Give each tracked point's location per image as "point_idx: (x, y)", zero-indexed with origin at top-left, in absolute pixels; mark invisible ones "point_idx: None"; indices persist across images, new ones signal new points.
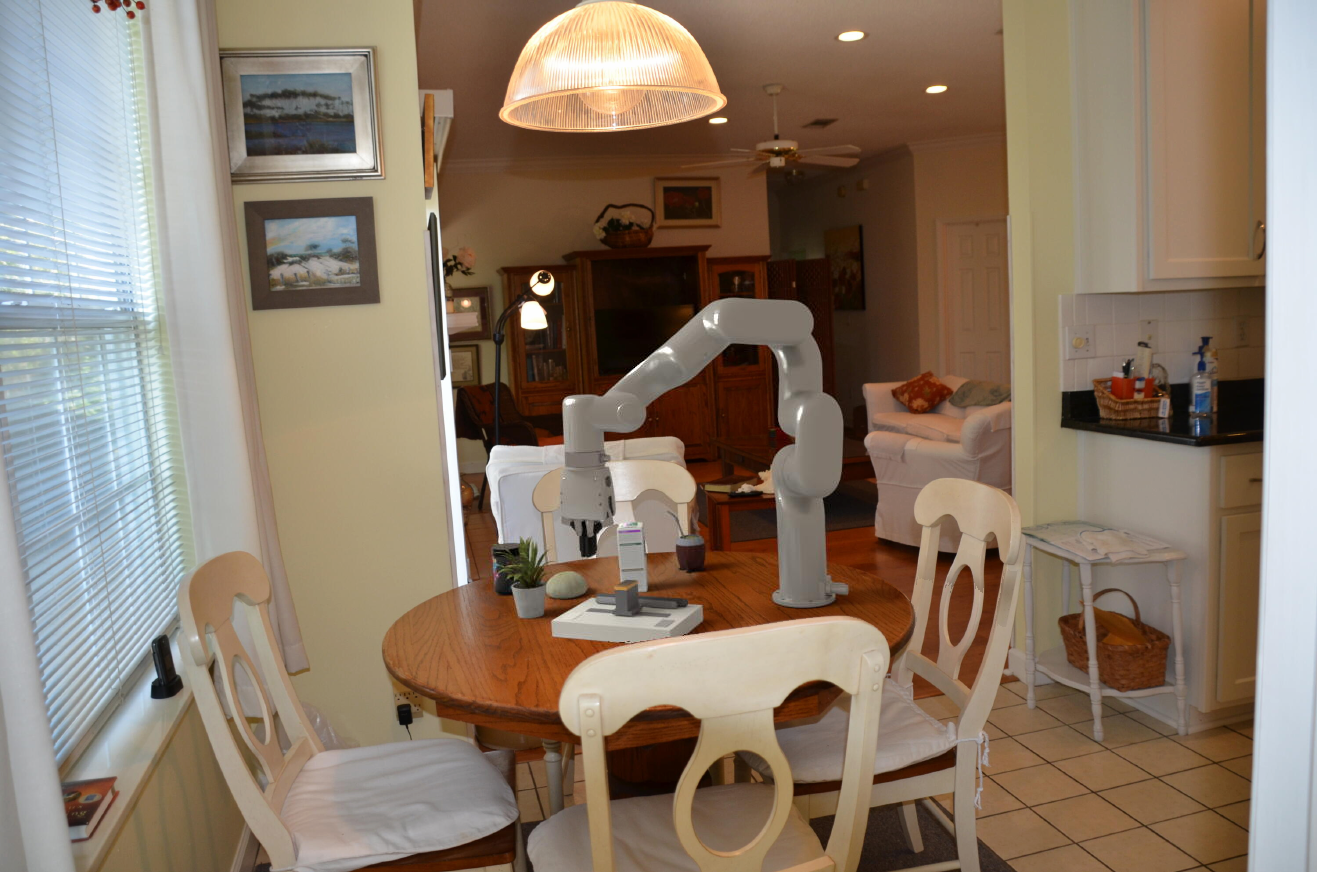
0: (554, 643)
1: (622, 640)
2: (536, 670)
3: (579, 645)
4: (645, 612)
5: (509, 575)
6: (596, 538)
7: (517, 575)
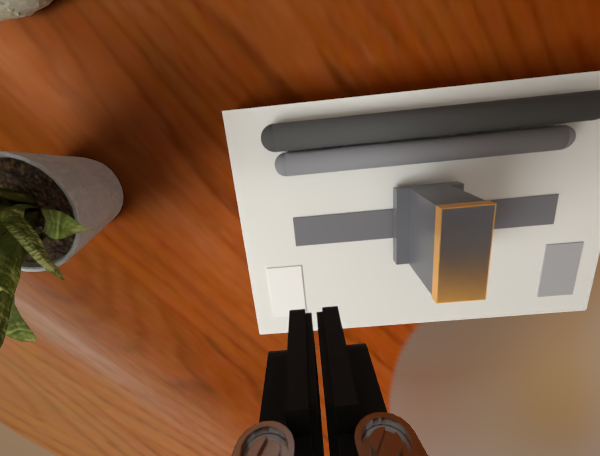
0: None
1: None
2: None
3: (354, 336)
4: None
5: None
6: (384, 407)
7: (15, 329)
